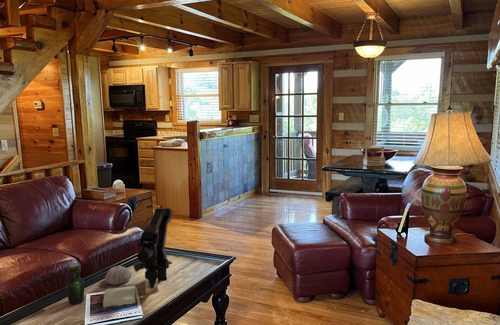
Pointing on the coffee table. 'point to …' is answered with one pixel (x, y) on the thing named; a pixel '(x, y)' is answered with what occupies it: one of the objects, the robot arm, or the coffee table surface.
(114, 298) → the sage base block
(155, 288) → the birch cube
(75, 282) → the potion bottle
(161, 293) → the coffee table surface
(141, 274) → the coffee table surface
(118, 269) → the sea urchin shell
